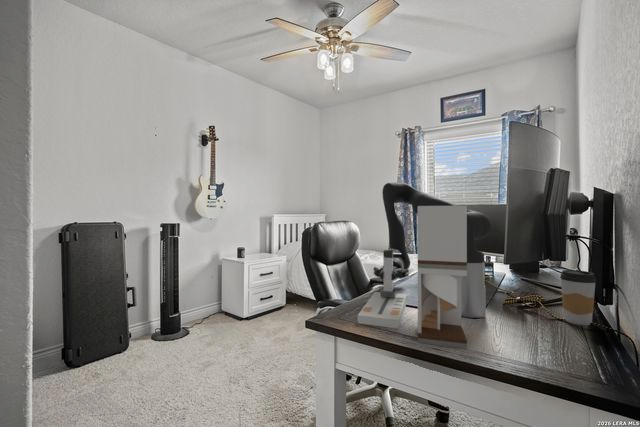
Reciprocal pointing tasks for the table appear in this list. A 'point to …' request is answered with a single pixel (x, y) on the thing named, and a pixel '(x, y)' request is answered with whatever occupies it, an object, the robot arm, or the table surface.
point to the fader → (388, 275)
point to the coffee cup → (578, 296)
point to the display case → (441, 274)
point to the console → (383, 311)
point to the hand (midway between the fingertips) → (387, 276)
